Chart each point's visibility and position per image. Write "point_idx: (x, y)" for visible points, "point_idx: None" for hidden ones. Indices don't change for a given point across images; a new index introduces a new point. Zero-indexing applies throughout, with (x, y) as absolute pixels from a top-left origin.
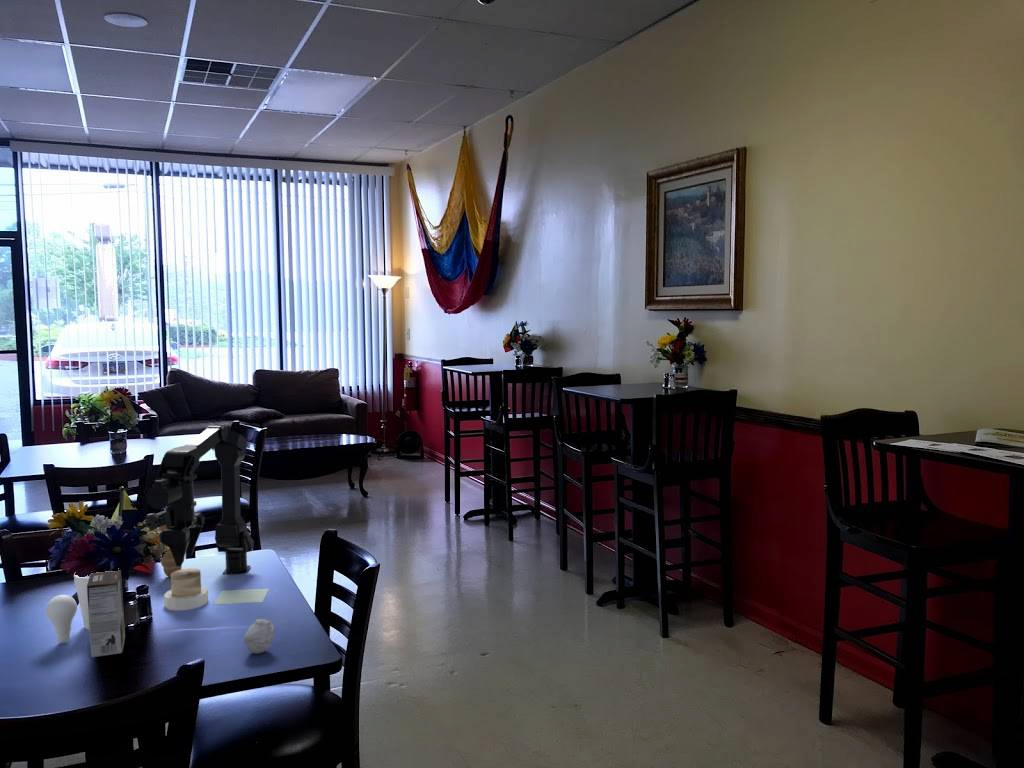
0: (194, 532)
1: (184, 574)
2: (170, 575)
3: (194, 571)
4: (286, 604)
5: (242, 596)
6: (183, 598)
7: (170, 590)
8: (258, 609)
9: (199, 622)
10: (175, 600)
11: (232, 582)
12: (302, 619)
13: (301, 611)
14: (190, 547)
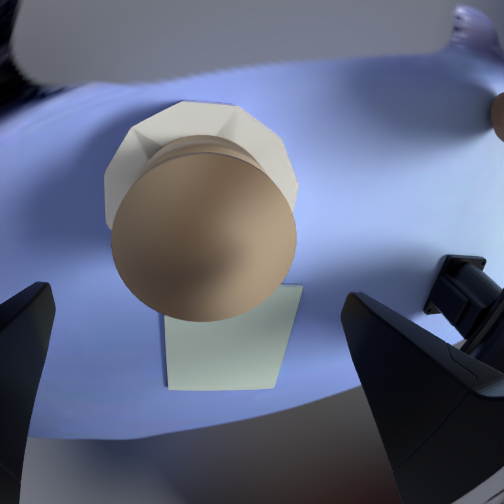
0: (421, 478)
1: (171, 249)
2: (492, 107)
3: (223, 293)
4: (158, 419)
5: (224, 348)
6: (112, 209)
7: (247, 120)
8: (126, 382)
9: (27, 264)
10: (105, 174)
11: (381, 292)
12: (78, 432)
13: (117, 434)
14: (367, 357)
